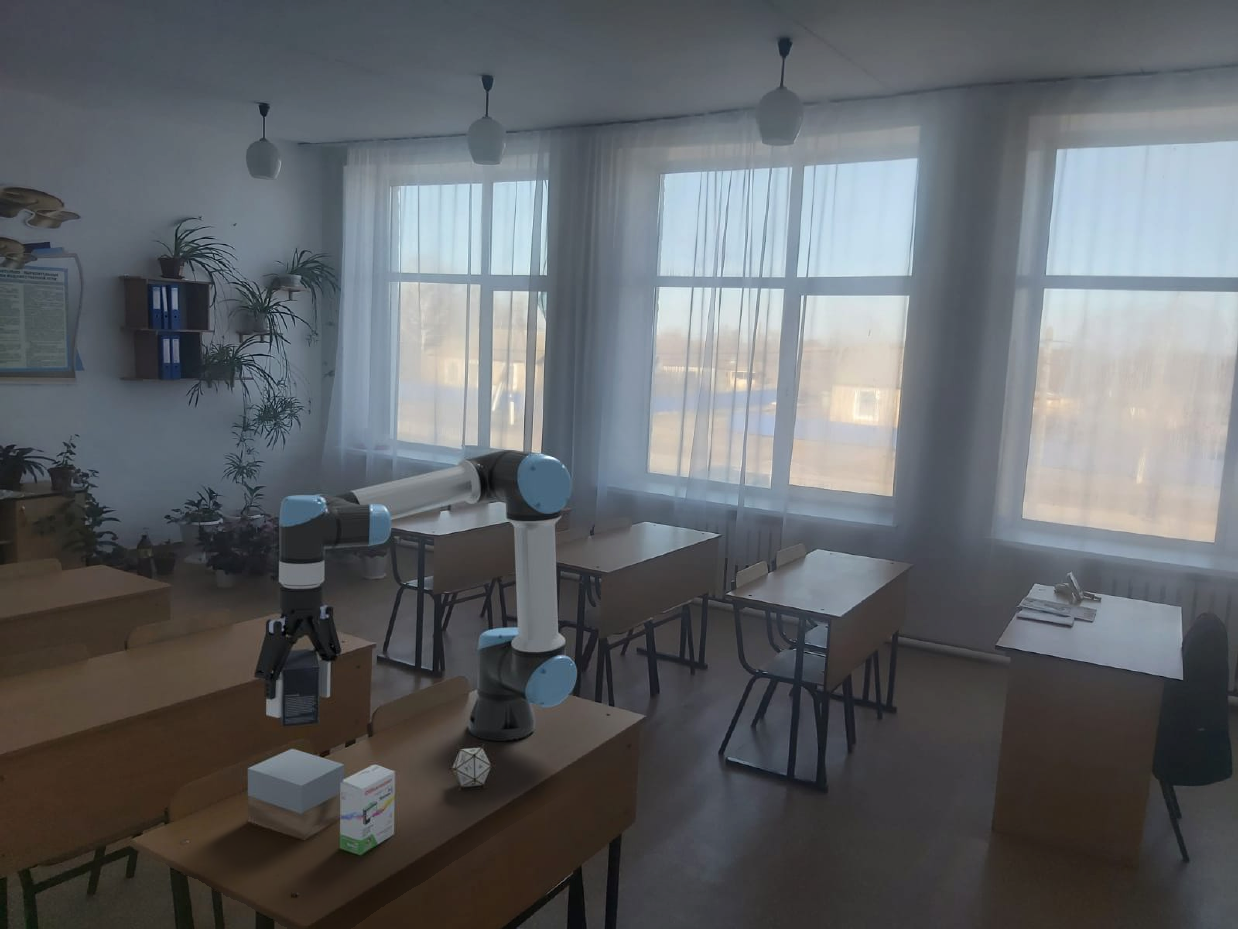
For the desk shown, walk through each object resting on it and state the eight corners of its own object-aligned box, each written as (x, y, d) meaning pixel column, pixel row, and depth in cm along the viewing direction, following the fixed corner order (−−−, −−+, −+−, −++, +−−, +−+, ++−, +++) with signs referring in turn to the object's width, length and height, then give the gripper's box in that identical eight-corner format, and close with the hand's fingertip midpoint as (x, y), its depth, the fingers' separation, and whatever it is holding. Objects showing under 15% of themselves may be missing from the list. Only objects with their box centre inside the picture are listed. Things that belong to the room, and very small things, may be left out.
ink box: (360, 856, 148) (361, 788, 147) (338, 848, 150) (339, 781, 149) (395, 834, 156) (396, 769, 155) (373, 827, 158) (374, 763, 157)
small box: (278, 706, 162) (279, 649, 161) (316, 703, 165) (317, 647, 164) (280, 727, 152) (281, 667, 151) (320, 724, 155) (321, 665, 154)
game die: (476, 808, 174) (482, 782, 168) (438, 788, 175) (443, 762, 169) (498, 771, 181) (505, 745, 174) (461, 752, 182) (467, 725, 176)
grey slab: (292, 774, 167) (292, 748, 166) (344, 791, 161) (344, 764, 160) (247, 795, 158) (247, 768, 157) (301, 814, 152) (301, 785, 151)
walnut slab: (290, 800, 167) (290, 774, 167) (345, 817, 162) (345, 790, 161) (248, 823, 158) (248, 796, 157) (304, 841, 153) (304, 813, 152)
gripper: (331, 570, 169) (329, 683, 171) (231, 593, 147) (230, 722, 149) (363, 575, 166) (360, 690, 168) (265, 599, 144) (263, 731, 146)
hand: (299, 705), depth 158 cm, fingers closed on small box, 11 cm apart
